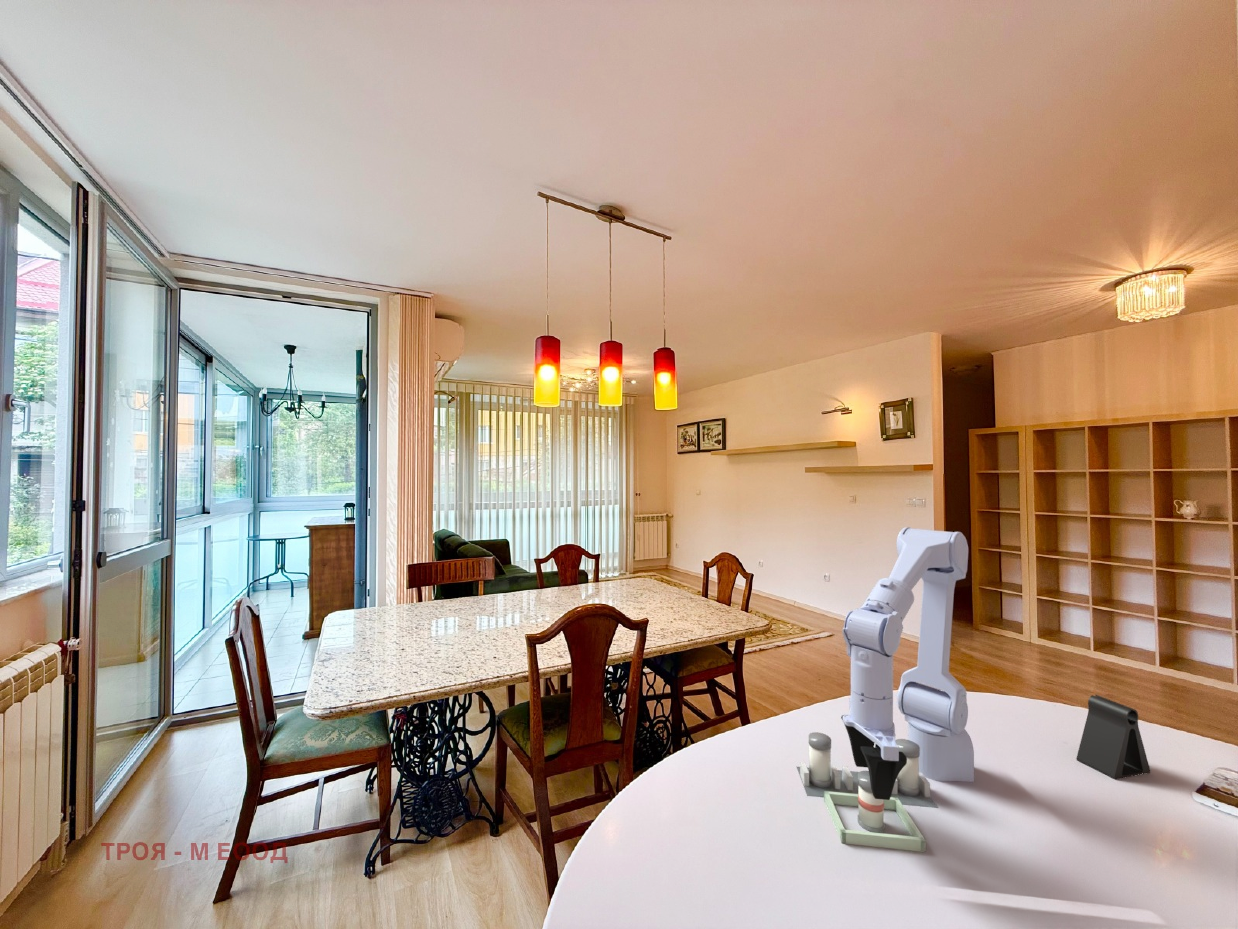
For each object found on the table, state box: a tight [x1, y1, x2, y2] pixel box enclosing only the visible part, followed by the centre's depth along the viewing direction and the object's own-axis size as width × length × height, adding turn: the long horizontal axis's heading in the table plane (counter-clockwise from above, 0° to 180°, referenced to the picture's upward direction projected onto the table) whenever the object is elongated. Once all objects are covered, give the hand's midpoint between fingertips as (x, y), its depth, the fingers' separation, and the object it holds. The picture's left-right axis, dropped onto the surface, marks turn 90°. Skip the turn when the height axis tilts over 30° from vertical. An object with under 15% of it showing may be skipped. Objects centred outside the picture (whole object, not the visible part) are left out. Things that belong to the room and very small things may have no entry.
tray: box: [823, 791, 927, 853], centre depth 75 cm, size 11×9×3 cm
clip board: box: [796, 762, 939, 809], centre depth 84 cm, size 20×8×3 cm, turn 82°
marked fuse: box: [857, 770, 885, 833], centre depth 75 cm, size 4×4×8 cm
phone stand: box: [1076, 694, 1151, 780], centre depth 92 cm, size 9×6×12 cm, turn 103°
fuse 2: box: [895, 738, 920, 797], centre depth 83 cm, size 4×4×8 cm
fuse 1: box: [808, 731, 832, 789], centre depth 85 cm, size 4×4×8 cm
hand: (871, 781), depth 75 cm, fingers open, 7 cm apart
